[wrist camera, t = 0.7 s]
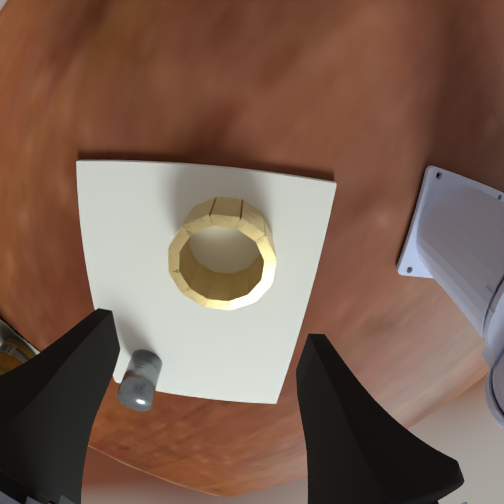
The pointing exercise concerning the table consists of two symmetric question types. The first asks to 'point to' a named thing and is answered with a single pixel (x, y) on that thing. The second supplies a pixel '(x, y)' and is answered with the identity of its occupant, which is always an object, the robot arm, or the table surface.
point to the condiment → (13, 349)
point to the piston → (140, 380)
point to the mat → (211, 256)
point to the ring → (215, 283)
